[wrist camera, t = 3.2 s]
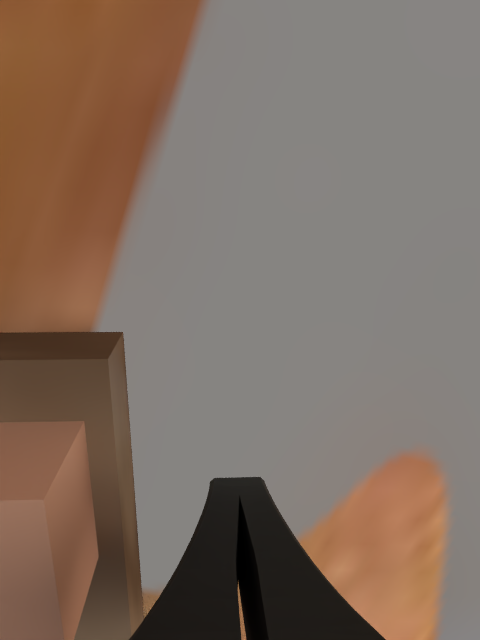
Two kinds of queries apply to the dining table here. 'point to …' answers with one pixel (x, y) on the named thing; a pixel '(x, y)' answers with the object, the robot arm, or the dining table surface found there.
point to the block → (44, 529)
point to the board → (103, 453)
